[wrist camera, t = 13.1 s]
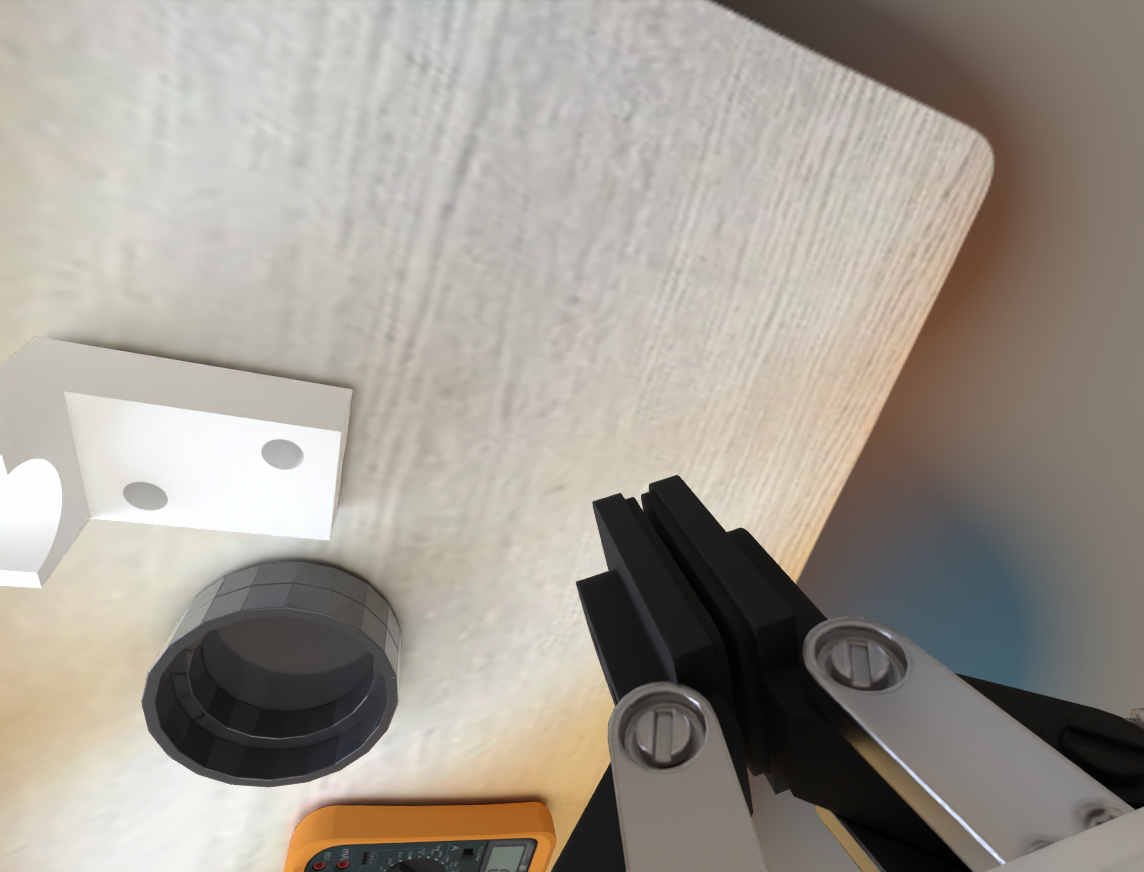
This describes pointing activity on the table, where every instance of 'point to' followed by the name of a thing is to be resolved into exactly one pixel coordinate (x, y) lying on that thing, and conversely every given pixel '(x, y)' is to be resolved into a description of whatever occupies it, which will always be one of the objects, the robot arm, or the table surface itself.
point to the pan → (276, 676)
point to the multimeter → (424, 839)
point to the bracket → (158, 450)
